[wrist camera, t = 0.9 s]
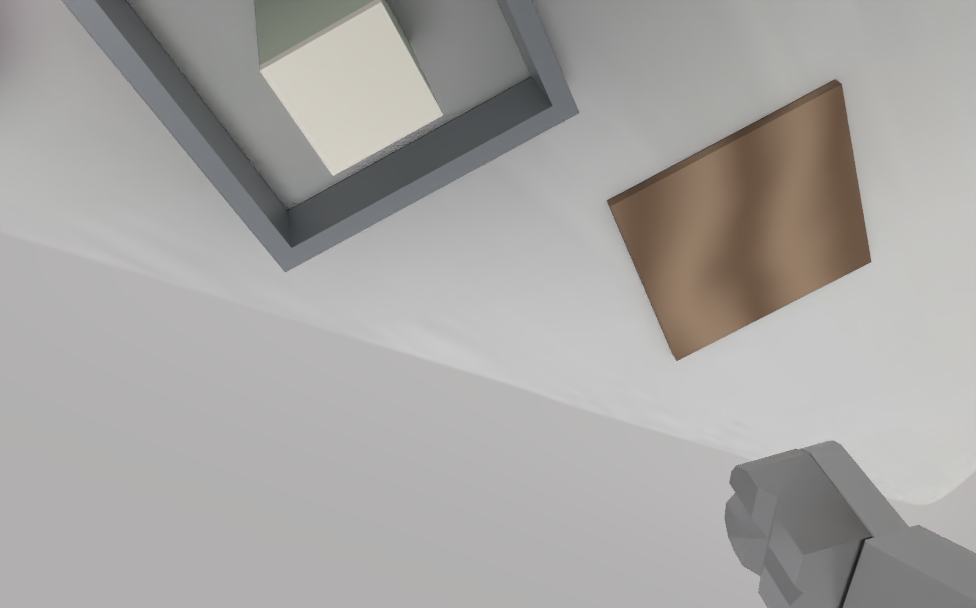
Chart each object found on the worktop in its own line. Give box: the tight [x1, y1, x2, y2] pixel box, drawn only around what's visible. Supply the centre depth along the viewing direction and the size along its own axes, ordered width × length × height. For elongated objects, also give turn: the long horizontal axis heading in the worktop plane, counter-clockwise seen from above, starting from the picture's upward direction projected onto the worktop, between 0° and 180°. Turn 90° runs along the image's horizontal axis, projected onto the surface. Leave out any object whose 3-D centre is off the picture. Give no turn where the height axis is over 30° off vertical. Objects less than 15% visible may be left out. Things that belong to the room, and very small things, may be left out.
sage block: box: [254, 0, 443, 176], centre depth 34 cm, size 5×5×8 cm
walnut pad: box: [607, 80, 871, 361], centre depth 50 cm, size 14×14×1 cm
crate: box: [62, 0, 579, 272], centre depth 36 cm, size 16×16×4 cm
